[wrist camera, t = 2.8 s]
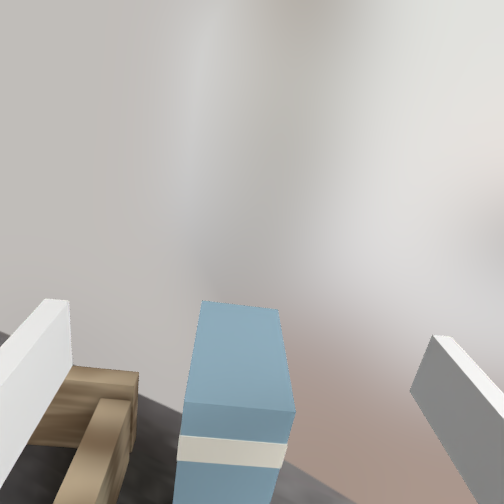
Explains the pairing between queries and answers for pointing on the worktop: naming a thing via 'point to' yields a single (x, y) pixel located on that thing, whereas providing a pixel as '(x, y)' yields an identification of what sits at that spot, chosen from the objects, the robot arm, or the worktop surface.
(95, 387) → the oak shelf
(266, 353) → the book
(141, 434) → the worktop surface
